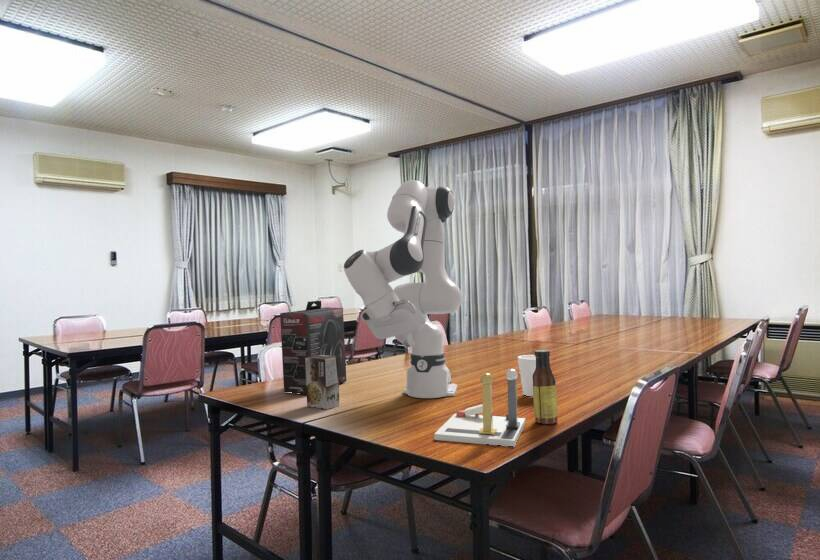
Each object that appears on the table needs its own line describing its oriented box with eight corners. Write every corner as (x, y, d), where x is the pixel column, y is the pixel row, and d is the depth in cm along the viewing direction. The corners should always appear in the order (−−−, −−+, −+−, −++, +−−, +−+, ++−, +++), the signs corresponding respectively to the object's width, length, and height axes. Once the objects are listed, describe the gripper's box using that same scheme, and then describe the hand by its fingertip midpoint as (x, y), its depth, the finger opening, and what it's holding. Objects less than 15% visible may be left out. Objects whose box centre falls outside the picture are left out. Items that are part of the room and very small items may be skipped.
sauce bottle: (561, 421, 142) (560, 350, 142) (551, 426, 137) (549, 352, 137) (540, 417, 146) (538, 348, 146) (529, 422, 142) (527, 350, 142)
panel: (455, 418, 148) (454, 409, 148) (525, 423, 141) (525, 413, 141) (434, 439, 129) (434, 429, 129) (514, 447, 122) (514, 435, 122)
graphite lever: (508, 423, 135) (506, 367, 135) (520, 424, 134) (519, 367, 134) (505, 427, 132) (504, 370, 132) (518, 428, 130) (516, 370, 130)
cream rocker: (468, 413, 145) (466, 408, 145) (488, 408, 143) (486, 403, 143) (465, 416, 142) (464, 411, 143) (486, 411, 140) (484, 405, 141)
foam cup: (517, 397, 170) (516, 358, 170) (520, 391, 179) (519, 354, 179) (546, 399, 167) (546, 359, 167) (548, 392, 176) (547, 355, 176)
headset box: (309, 396, 181) (307, 302, 180) (281, 393, 186) (278, 302, 186) (347, 382, 203) (345, 299, 202) (320, 380, 208) (318, 299, 208)
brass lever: (481, 429, 130) (480, 371, 130) (497, 430, 129) (495, 372, 129) (478, 433, 127) (477, 373, 127) (494, 434, 126) (493, 374, 126)
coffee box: (340, 405, 166) (339, 355, 166) (326, 410, 161) (325, 358, 161) (319, 402, 171) (318, 354, 171) (305, 406, 166) (304, 356, 166)
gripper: (414, 291, 135) (441, 334, 137) (371, 305, 150) (396, 343, 153) (399, 305, 131) (427, 348, 134) (357, 317, 147) (383, 356, 149)
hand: (410, 345), depth 143 cm, fingers closed
